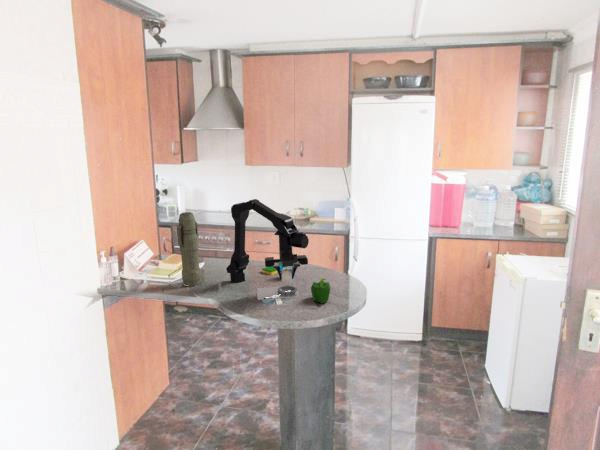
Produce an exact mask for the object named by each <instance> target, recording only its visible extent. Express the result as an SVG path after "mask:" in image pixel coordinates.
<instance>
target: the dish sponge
mask: <svg viewBox="0 0 600 450" xmlns="http://www.w3.org/2000/svg"><path fill="white" fill-rule="evenodd" d="M281 264H282V263H279V266H280V265H281ZM286 267H288V266H286ZM289 267H290V268H291V266H289ZM261 272H262V273H263V274H265V275H270V276H273V275H276V274H278V272H277V270H276V268H273V267H262V269H261Z"/></svg>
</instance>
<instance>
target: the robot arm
mask: <svg viewBox="0 0 600 450" xmlns="http://www.w3.org/2000/svg"><path fill="white" fill-rule="evenodd" d="M250 211H254V212H256V214H258V215H261V216H262V217H263V218H265V219H267V220H268V221H269V222H271V223H272V226H273V227H274V228H275V229H276V230H277V231H276V232H274V236H278V254H279V255H278V256H279V258H274V256H270V257H269V256H268V257H267V256H266V257H264V266H265V267H264V268H266V267H273V268H276V270H277V272H278V273H277V274H278V276H279V279H280V281H281V280H282V278H281V271H280V266H279V263H282V266H283V267H286V266H290V267H291V269H292V280H293V279H294V278H295V276H296V271H297V269H298V268H300V267H301V266H303V265H304V266H305V265H308V264H309V259H308V257H307V255H305V254H303V255H301V254H300V255H298V253H293V248H298V249H306V248H307V247H308V246H309V241H310V239H309V238H308V235H307V233H306V231H305V232H303V231H299V228H298V227H297V225H296V224H295V222H294V219H293V217H291V216H289V215H286V214H284V213H279V212H277V211H275V210H274V209H272V208H271V207H269V206H268V205H266V204H264V203H263V202H261V201H260V200H259V199H257V198H255V199H249V200H248V201H246V202H245V201H243V202H238V203H235V204H232V206H231V207H230V213H231V217H232V220H233V221H234V249H233V252H232V255H231V257H230V264H229V265H228V266H227V267H226V272H227V273H229V275H230V277H229V279H230V283H233V284H240V283H244V282H246V273H245V272H244V271H245V270H247V266H249V263H250V254H248V253H247V251H246V222H247V220H248V217H249V216H250ZM294 275H295V276H294Z"/></svg>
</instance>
